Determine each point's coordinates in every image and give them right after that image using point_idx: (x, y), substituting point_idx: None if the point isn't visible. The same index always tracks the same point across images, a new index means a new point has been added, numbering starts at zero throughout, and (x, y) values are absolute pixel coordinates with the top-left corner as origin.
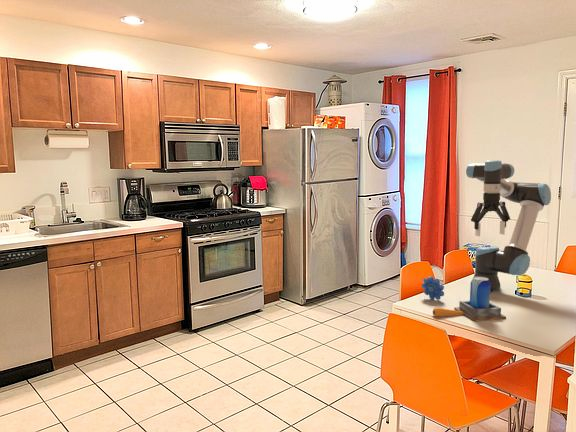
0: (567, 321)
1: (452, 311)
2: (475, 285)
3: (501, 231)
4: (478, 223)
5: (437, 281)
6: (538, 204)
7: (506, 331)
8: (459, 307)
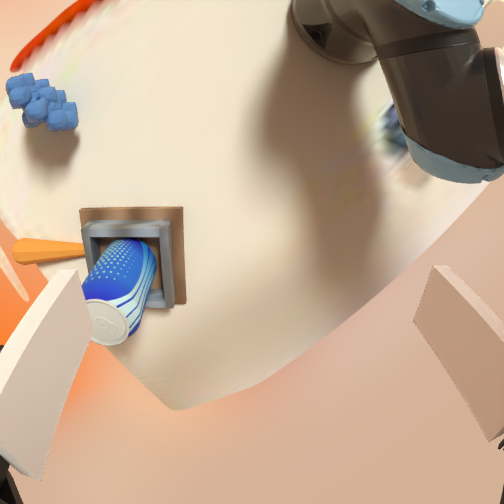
0: (319, 333)
1: (55, 258)
2: None
3: (440, 314)
4: (11, 458)
5: (32, 122)
6: None
7: (142, 354)
8: (88, 222)
